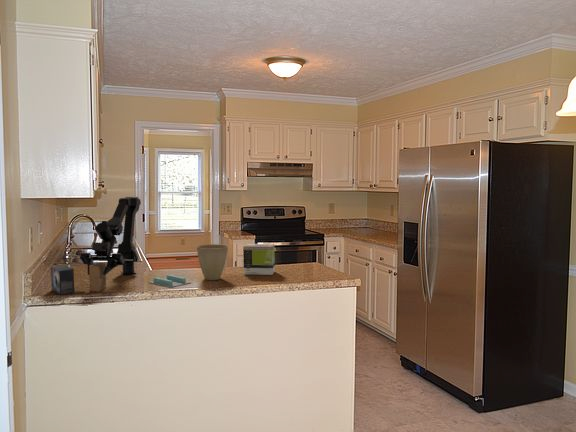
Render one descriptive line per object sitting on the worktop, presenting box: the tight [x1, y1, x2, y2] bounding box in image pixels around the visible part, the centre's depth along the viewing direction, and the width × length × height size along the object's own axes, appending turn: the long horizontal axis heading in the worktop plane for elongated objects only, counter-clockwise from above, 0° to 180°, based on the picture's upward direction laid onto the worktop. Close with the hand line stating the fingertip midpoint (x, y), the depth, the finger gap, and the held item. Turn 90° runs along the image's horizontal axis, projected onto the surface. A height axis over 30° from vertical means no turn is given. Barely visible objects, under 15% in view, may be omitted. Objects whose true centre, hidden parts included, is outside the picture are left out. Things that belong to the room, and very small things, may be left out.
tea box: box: [242, 243, 276, 276], centre depth 250 cm, size 15×10×15 cm, turn 84°
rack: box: [147, 274, 192, 289], centre depth 226 cm, size 16×12×2 cm
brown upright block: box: [88, 262, 107, 292], centre depth 213 cm, size 7×4×11 cm, turn 176°
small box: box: [50, 264, 76, 296], centre depth 208 cm, size 11×6×10 cm, turn 45°
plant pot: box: [196, 243, 229, 281], centre depth 236 cm, size 15×15×16 cm
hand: (96, 274), depth 211 cm, fingers open, 7 cm apart
